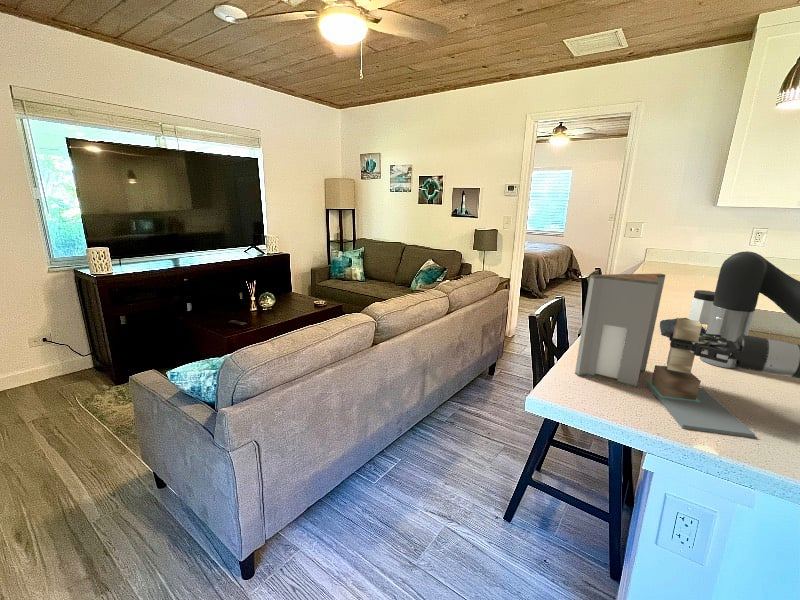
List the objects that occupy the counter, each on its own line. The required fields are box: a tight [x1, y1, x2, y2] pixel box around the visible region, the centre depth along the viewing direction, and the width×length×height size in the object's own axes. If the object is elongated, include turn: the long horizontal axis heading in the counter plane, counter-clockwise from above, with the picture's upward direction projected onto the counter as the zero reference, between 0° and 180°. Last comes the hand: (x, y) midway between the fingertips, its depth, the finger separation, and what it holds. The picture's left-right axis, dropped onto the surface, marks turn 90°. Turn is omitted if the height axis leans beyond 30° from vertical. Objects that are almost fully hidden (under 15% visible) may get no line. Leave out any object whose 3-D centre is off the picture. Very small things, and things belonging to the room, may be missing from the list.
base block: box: [650, 364, 701, 400], centre depth 92 cm, size 7×7×5 cm
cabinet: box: [574, 273, 666, 389], centre depth 97 cm, size 21×10×28 cm, turn 100°
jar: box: [687, 289, 715, 325], centre depth 150 cm, size 9×8×12 cm
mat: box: [645, 380, 756, 439], centre depth 87 cm, size 13×20×1 cm, turn 167°
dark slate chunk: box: [659, 317, 707, 340], centre depth 138 cm, size 15×22×5 cm
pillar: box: [666, 317, 703, 374], centre depth 90 cm, size 4×4×12 cm
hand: (670, 339), depth 91 cm, fingers closed on pillar, 4 cm apart
